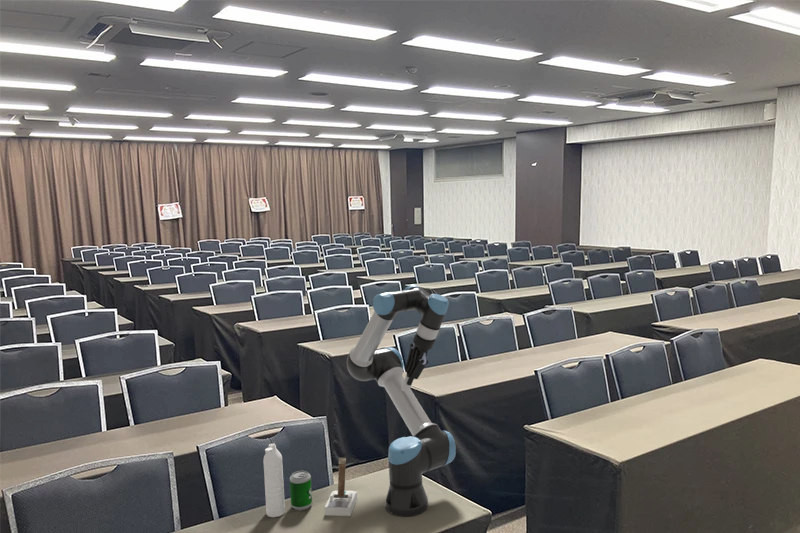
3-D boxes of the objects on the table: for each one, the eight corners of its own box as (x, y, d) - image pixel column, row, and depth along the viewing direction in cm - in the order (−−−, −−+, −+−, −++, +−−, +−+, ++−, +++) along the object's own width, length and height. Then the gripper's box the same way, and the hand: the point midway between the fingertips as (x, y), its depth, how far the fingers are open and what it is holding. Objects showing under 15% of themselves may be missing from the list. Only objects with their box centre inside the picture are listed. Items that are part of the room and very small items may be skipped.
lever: (348, 497, 204) (349, 457, 208) (346, 498, 201) (348, 458, 205) (335, 497, 204) (336, 457, 208) (333, 498, 202) (335, 457, 206)
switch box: (357, 499, 209) (356, 487, 208) (350, 516, 197) (349, 503, 196) (333, 498, 210) (332, 486, 209) (325, 515, 198) (324, 502, 197)
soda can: (307, 512, 200) (306, 479, 199) (287, 511, 202) (286, 478, 201) (315, 502, 208) (313, 470, 207) (296, 500, 209) (294, 469, 208)
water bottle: (269, 508, 204) (265, 440, 202) (287, 508, 204) (283, 440, 202) (262, 521, 195) (258, 450, 194) (281, 521, 195) (277, 450, 193)
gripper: (441, 346, 201) (419, 401, 208) (428, 328, 212) (408, 381, 219) (422, 343, 198) (401, 399, 205) (410, 325, 209) (390, 379, 216)
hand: (404, 390), depth 212 cm, fingers closed
